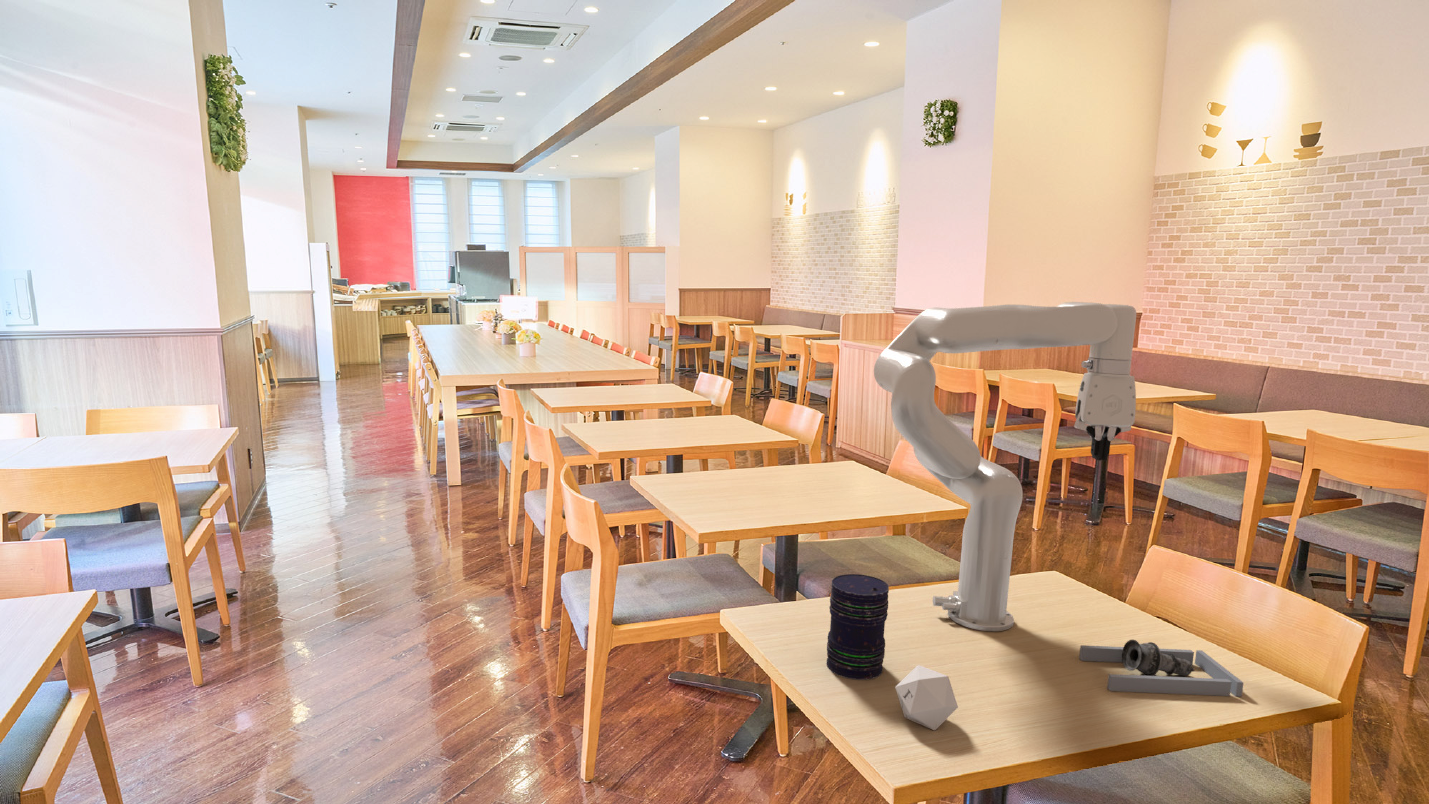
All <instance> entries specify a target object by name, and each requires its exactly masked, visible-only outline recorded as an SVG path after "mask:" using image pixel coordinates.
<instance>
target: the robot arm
mask: <svg viewBox="0 0 1429 804" xmlns="http://www.w3.org/2000/svg"><path fill="white" fill-rule="evenodd" d="M1136 320H1137V310H1136V308H1135V307H1134V306H1132V305H1129V304H1114V303H1113V304H1111V303H1104V304H1103V303H1097V302H1083V301H1067V302H1063V303H1060V304H1058V305H1056V306H1039V305H1029V304H1027V305H1026V304H999V305H998V304H997V305H986V306H972V307H959V308H957V307H955V308H948V307H947V308H946V307H930V308H927V309H925V310H923V311H922V312H920V313H919V314H918V315H917V316H916V317H915V318H914V319H912V320H911V322H910V323H909V324H908V325H906V326H905V327H904V329H903V330H902V331H901V332H900V334H898V335H897V336H896V337H895V338H893V340H892V341H891V342H890V344H888V346H886V348H884V350H883V351H882V352H881V353H880V354H879V356H878V357H877V359H876V360H875V363H874V366H873V376H874V379H875V382H876V383H877V385H878V386H880V388H882V389H883V390H885V391H886V392H888V393H891V398H890V399H891V400H890V409H891V418H892V422H893V424H894V426H895V428H896V430H897V431H898V433H899V434H900V435H901V436H902V437H903V439H905V440H906V441H907V442H908V444H910V445H911V446H912V447H913V453H914V455H915V457H916V459H917V461H918V462H919V463H920V464H921V466H923V468H925V470H927V471H928V472H929V473H930V474H931V475H933V476H934V477H935V478H936V479H937V480H938V481H939V482H940V483H941V484H942V485H943V486H945V488H947V489H948V490H949V491H950V492H951V493H953V494H954V495H956V496H957V497H958V498H960V499H961V500H963V501H964V502H966V503H968V504H969V505H970V509H969V511H968V515H967V517H966V518H965V522H964V525H963V529H962V539H961V542H962V543H961V552H960V553H961V554H960V563H959V564H960V566H959V574H958V575H959V576H958V585H957V586H958V587H957V590H955V591H953V593H952V595H948V596H937V595H935V596H933V597H932V605H933V607H941V608H942V610H944V611H947V616H948V617H949V619H951V620H952V621H953V622H954V623H957V624H959V625H960V626H963V627H966V628H969V629H972V630H978V631H985V632H1001V631H1002V632H1003V631H1006V630H1007V631H1008V630H1009V629H1011V628H1012V627H1013V626H1014V623H1015V622H1014V621H1015V620H1014V619H1015V618H1014V616H1013V615H1012V613H1010V612H1009V611H1008V610H1007V609H1008V608H1007V606H1008V598H1009V589H1010V586H1009V585H1010V577H1011V567H1012V556H1013V546H1014V535H1015V529H1016V524H1017V518H1018V515H1019V513H1020V508H1021V506H1022V502H1023V497H1024V496H1023V495H1024V494H1023V493H1024V492H1023V486H1022V483H1021V482H1020V480H1019V478H1018V477H1017V476H1016V475H1015V474H1014V473H1013V471H1011V470H1009V469H1008V468H1006V467H1003V466H1001V465H999V464H997V463H995V462H992V461H990V460H988V459H986V458H984V457H983V456H982V455H981V452H980V449H979V446H977V444H976V442H975V441H974V440H973V439H972V437H970V436H969V435H968V434H966V433H965V432H964V431H963V430H962V429H960V428H959V426H957V425H956V424H955V423H953V421H951V420H950V419H949V418H948V417H947V416H946V415H945V414H944V412H943V411H941V410H940V408H939V407H938V406H937V404H936V402H935V401H936V400H935V390H936V382H937V379H936V378H937V376H936V371H935V368H934V366H933V364H932V363H931V362H930V361H931V360H932V358H933V357H934V356H935V355H936V354H937V353H938V352H939V353H943V354H964V353H975V352H977V353H978V352H989V351H999V350H1000V351H1001V350H1002V351H1003V350H1023V349H1024V350H1026V349H1027V350H1030V349H1039V348H1059V347H1061V348H1063V347H1078V346H1089V355H1088V356H1089V357H1087V360H1082V362H1081V365H1080V366H1081V368H1082V369H1083V368H1084V369H1086V371H1087V372H1084V374H1083V376H1082V379H1081V381H1080V385H1079V390H1078V393H1077V397H1076V398H1077V399H1076V404H1075V405H1076V406H1075V423H1074V425H1073V426H1074V428H1075V429H1078V430H1081V431H1084V432H1086V433H1087V434H1088V435H1089V437H1090V438H1091V445H1090V455H1091V458H1092V459H1094V460H1096V461H1099V462H1100V461H1103V462H1107V460H1108V456H1109V455H1110V449H1111V442H1113V440H1115V439H1114V438H1115V437H1116V436H1118V435H1119V434H1120V433H1126V432H1130V431H1131V430H1132V426H1133V425H1134V424H1135V420H1136V410H1137V409H1136V407H1137V396H1136V395H1137V393H1136V391H1137V390H1136V382H1135V376H1133V375H1131V374H1130V373H1131V368H1132V357H1133V348H1134V340H1135V339H1134V338H1135V333H1136V332H1135V330H1136V322H1137V321H1136ZM1102 427H1103V429H1102Z"/></svg>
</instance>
